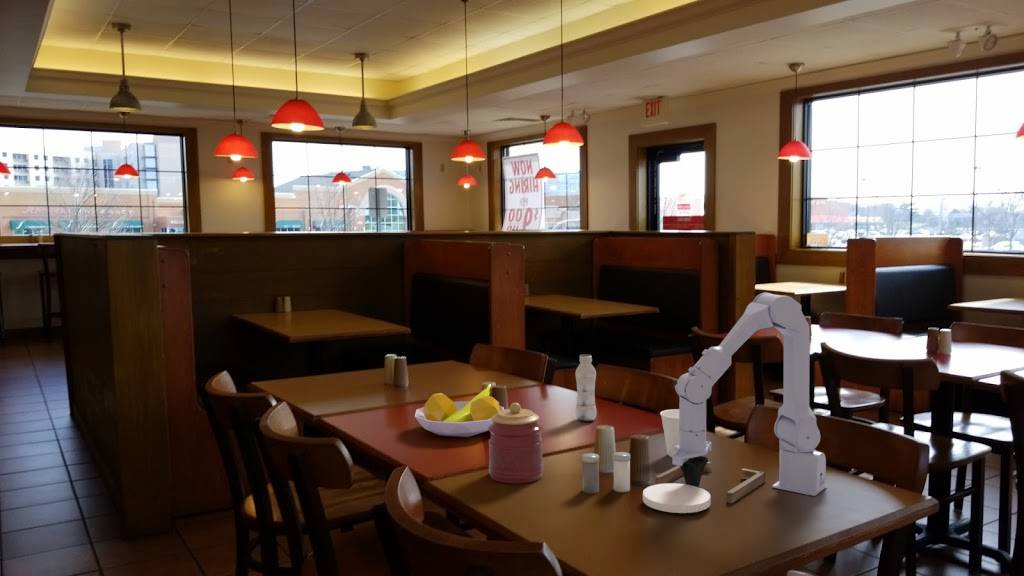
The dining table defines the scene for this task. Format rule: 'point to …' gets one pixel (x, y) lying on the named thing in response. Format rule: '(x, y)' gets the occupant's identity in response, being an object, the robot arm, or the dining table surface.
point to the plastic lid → (676, 498)
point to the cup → (671, 429)
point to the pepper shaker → (590, 473)
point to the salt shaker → (621, 471)
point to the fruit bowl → (458, 414)
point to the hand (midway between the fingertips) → (692, 489)
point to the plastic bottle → (585, 389)
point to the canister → (515, 446)
